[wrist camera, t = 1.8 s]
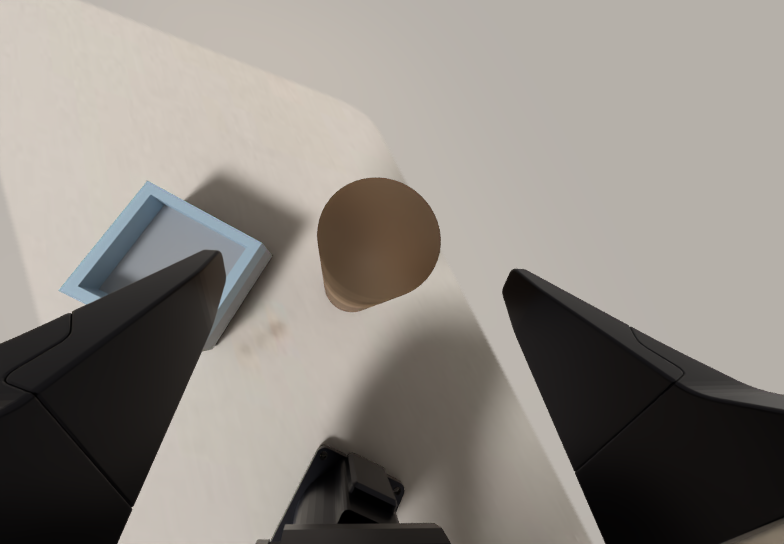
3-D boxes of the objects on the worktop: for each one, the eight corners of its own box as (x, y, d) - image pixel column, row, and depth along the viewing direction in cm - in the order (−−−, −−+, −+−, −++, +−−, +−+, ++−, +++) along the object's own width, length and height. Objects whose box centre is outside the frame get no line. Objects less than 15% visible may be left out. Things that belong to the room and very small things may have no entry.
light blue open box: (212, 348, 20) (188, 354, 17) (106, 296, 19) (58, 290, 16) (272, 255, 22) (261, 242, 18) (177, 203, 21) (147, 180, 18)
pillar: (363, 321, 22) (407, 321, 10) (313, 295, 22) (291, 258, 9) (388, 274, 23) (459, 216, 10) (341, 248, 23) (356, 155, 10)
